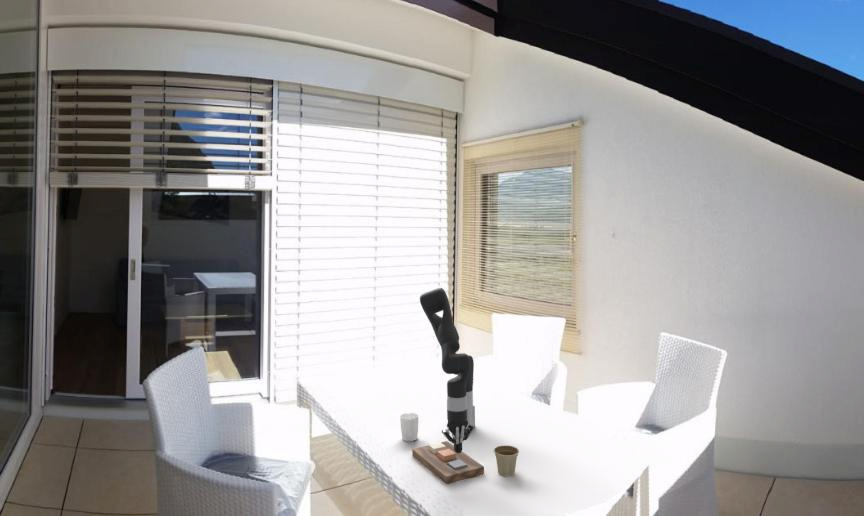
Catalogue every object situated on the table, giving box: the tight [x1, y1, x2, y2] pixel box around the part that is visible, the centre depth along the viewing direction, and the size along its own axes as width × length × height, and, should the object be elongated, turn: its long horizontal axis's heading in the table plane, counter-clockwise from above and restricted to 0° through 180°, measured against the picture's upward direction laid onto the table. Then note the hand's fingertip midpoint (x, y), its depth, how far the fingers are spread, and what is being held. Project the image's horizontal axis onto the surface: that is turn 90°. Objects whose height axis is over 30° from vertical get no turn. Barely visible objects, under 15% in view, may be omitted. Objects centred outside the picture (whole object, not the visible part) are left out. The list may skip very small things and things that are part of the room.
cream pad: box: [427, 441, 446, 454], centre depth 224 cm, size 5×5×3 cm
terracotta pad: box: [438, 449, 456, 462], centre depth 217 cm, size 5×5×3 cm
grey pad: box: [448, 459, 467, 470], centre depth 210 cm, size 5×5×3 cm
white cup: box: [399, 412, 419, 442], centre depth 244 cm, size 8×8×10 cm
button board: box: [411, 440, 485, 486], centre depth 217 cm, size 16×28×3 cm, turn 28°
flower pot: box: [493, 444, 520, 477], centre depth 209 cm, size 9×9×9 cm
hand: (458, 452), depth 210 cm, fingers closed
